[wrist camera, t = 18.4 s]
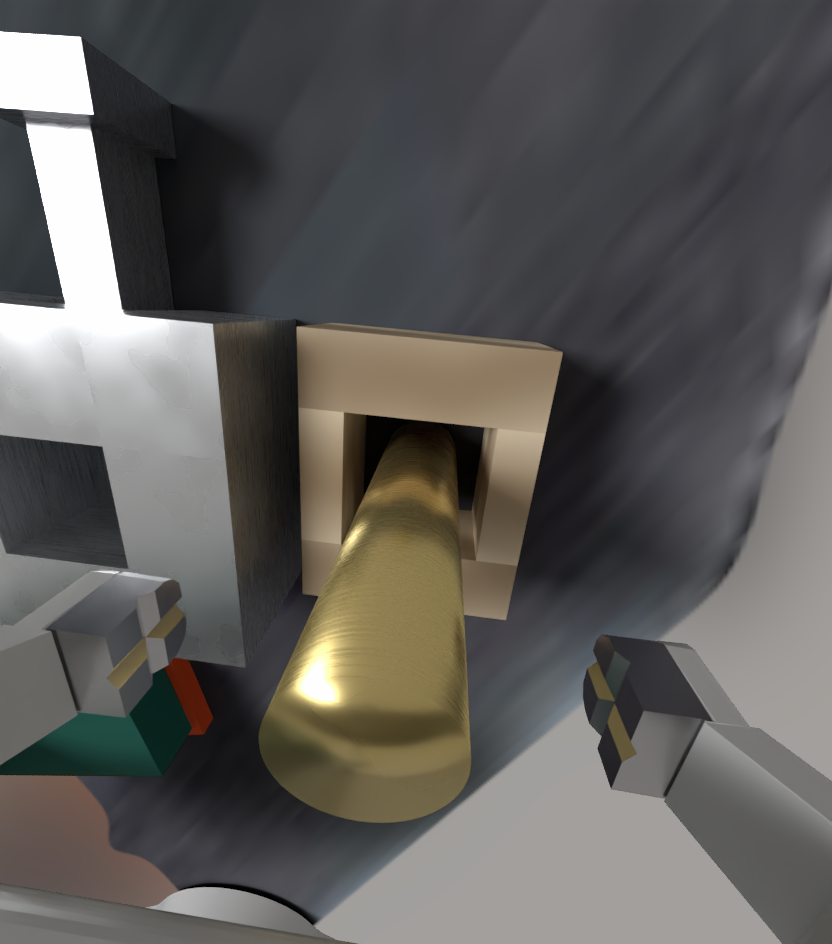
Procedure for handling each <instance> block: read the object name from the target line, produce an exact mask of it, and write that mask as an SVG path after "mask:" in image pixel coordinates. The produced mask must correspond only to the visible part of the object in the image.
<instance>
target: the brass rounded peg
mask: <svg viewBox="0 0 832 944" xmlns="http://www.w3.org/2000/svg"><path fill="white" fill-rule="evenodd" d="M259 748H260V752H261V755H262V758H263V761H264V763H265V765H266V767H267V768H268V770H269V771H270V773H271V774H272V776H273V777H274V778H275V779H276V780H277V781H278V783H279V784H280V785H281V786H282V787H284V788H285V789H286V790H287V791H288V792H289V793H291V794H292V795H293V796H295V797H296V798H298V799H299V800H301V801H303V802H304V803H306V804H308V805H310V806H312V807H314V808H316V809H318V810H320V811H323V812H326V813H328V814H331V815H334V816H338V817H341V818H345V819H350V820H355V821H362V822H370V823H392V822H401V821H408V820H413V819H417V818H420V817H423V816H426V815H429V814H431V813H433V812H436V811H438V810H440V809H441V808H443V807H444V806H446V805H447V804H449V803H450V802H451V801H452V800H453V799H455V798H456V797H457V796H458V794H459V793H460V792H461V791H462V790H463V788H464V786H465V784H466V783H467V780H468V777H469V774H470V769H471V748H470V727H469V707H468V686H467V666H466V645H465V625H464V604H463V583H462V563H461V542H460V522H459V501H458V481H457V460H456V447H455V443H454V440H453V438H452V436H451V435H450V433H449V432H448V431H447V430H446V429H445V428H444V427H443V426H441V425H440V424H438V423H436V422H430V421H421V420H412V421H409V422H406V423H404V424H403V425H401V426H400V427H399V428H397V429H396V430H395V432H394V433H393V434H392V436H391V438H390V440H389V442H388V444H387V447H386V449H385V451H384V453H383V455H382V458H381V460H380V462H379V464H378V466H377V469H376V471H375V473H374V475H373V478H372V480H371V482H370V484H369V486H368V489H367V491H366V493H365V495H364V497H363V500H362V502H361V504H360V506H359V508H358V511H357V513H356V515H355V517H354V519H353V522H352V524H351V526H350V528H349V530H348V533H347V535H346V537H345V539H344V541H343V544H342V546H341V548H340V550H339V553H338V555H337V557H336V559H335V561H334V564H333V566H332V568H331V570H330V572H329V575H328V577H327V579H326V581H325V583H324V586H323V588H322V590H321V592H320V594H319V597H318V599H317V601H316V603H315V605H314V608H313V610H312V612H311V614H310V617H309V619H308V621H307V623H306V625H305V628H304V630H303V632H302V634H301V636H300V639H299V641H298V643H297V645H296V647H295V650H294V652H293V654H292V656H291V658H290V661H289V663H288V665H287V667H286V669H285V672H284V674H283V676H282V678H281V680H280V683H279V685H278V687H277V689H276V692H275V694H274V696H273V698H272V700H271V703H270V705H269V707H268V709H267V711H266V714H265V716H264V718H263V720H262V722H261V726H260V730H259Z"/></svg>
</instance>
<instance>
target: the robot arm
mask: <svg viewBox="0 0 832 944" xmlns="http://www.w3.org/2000/svg"><path fill="white" fill-rule="evenodd" d="M181 598H182V593H181V589H180V584H179V582H177V581H175V580H173V579H169V578H163V577H156V576H150V575H143V574H137V573H130V572H120V571H114V570H108V569H97V570H92V571H90V572H88V573H87V574H86V575H84V576H83V577H81V578H80V579H78V580H77V581H76V582H74V583H73V584H71V585H70V586H69V587H67V588H66V589H64V590H63V591H61V592H60V593H59V594H57V595H56V596H54V597H53V598H52V599H50V600H49V601H47V602H46V603H44V604H43V605H42V606H40V607H39V608H37V609H36V610H35V611H33V612H32V613H30V614H29V615H28V616H26V617H25V618H23V619H22V620H20V621H19V622H18V623H16V624H15V625H13V626H11V625H2V626H0V765H1V764H3V763H4V762H6V761H7V760H9V759H10V758H12V757H13V756H15V755H17V754H18V753H20V752H21V751H23V750H24V749H26V748H27V747H29V746H31V745H32V744H34V743H35V742H37V741H38V740H40V739H41V738H43V737H45V736H46V735H48V734H49V733H51V732H52V731H54V730H55V729H57V728H59V727H60V726H62V725H63V724H65V723H66V722H68V721H69V720H71V719H73V718H74V717H76V716H77V715H78V713H77V712H80V713H89V714H98V715H107V716H115V717H124V718H126V717H127V716H128V714H129V713H130V712H131V711H132V710H133V708H134V707H135V706H136V705H137V703H138V702H139V701H140V700H141V698H142V697H143V696H144V695H145V694H146V692H147V691H148V690H149V689H150V687H151V686H152V685H153V673H155V672H157V671H158V670H160V669H162V668H164V667H166V666H167V665H169V664H170V663H171V661H172V660H173V659H174V657H175V656H176V655H177V653H178V652H179V650H180V647H181V645H182V643H183V640H184V638H185V633H186V618H185V614H184V613H183V612H182V611H181V610H180V608H179V607H178V606H177V605H176V604H177V603H178V601H179V600H180V599H181ZM593 651H594V654H595V656H596V659H597V662H596V663H594V664H593V665H592V666H590V667H589V668H587V671H586V675H585V679H584V682H583V700H584V706H585V711H586V714H587V717H588V721H589V724H590V725H591V726H592V727H593V728H594V729H595V730H596V731H597V732H598V733H599V734H600V735H601V736H602V737H601V740H600V743H599V746H598V751H599V754H600V757H601V760H602V763H603V766H604V769H605V772H606V775H607V778H608V781H609V784H610V787H611V789H613V790H619V791H625V792H630V793H636V794H642V795H648V796H653V797H659V798H664V799H665V801H664V802H665V803H666V804H667V805H668V807H669V808H670V809H671V810H672V811H673V813H674V814H675V815H676V816H677V817H678V819H679V820H680V821H681V822H682V823H683V825H684V826H685V827H686V828H687V829H688V831H689V832H690V833H691V834H692V835H693V837H694V838H695V839H696V840H697V841H698V843H699V844H700V845H701V846H702V848H703V849H704V850H705V851H706V852H707V854H708V855H709V856H710V857H711V858H712V860H713V861H714V862H715V863H716V864H717V866H718V867H719V868H720V869H721V870H722V872H723V873H724V874H725V875H726V876H727V878H728V879H729V880H730V881H731V882H732V883H733V885H734V886H735V887H736V888H737V890H738V891H739V892H740V893H741V894H742V896H743V897H744V898H745V899H746V900H747V902H748V903H749V904H750V905H751V906H752V908H753V909H754V910H755V911H756V912H757V913H758V915H759V916H760V917H761V918H762V920H763V921H764V922H765V923H766V924H767V926H768V927H769V928H770V929H771V930H772V932H773V933H774V934H775V935H776V937H777V938H778V939H779V940H780V941H781V943H782V944H832V781H831V780H829V779H828V778H827V777H825V776H824V775H822V774H821V773H820V772H818V771H817V770H815V769H814V768H813V767H812V766H810V765H809V764H807V763H806V762H805V761H803V760H802V759H801V758H799V757H798V756H796V755H795V754H794V753H792V752H791V751H790V750H788V749H787V748H785V747H784V746H783V745H781V744H780V743H779V742H777V741H776V740H775V739H773V738H772V737H770V736H769V735H768V734H766V733H765V732H764V731H762V730H761V729H759V728H752V727H749V725H748V724H747V723H746V721H745V720H744V718H743V717H742V716H741V714H740V713H739V712H738V711H737V709H736V707H735V706H734V704H733V703H732V702H731V701H730V699H729V698H728V696H727V695H726V693H725V692H724V691H723V689H722V688H721V686H720V685H719V684H718V682H717V681H716V680H715V678H714V677H713V675H712V674H711V672H710V671H709V670H708V668H707V667H706V666H705V664H704V663H703V661H702V660H701V658H700V657H699V656H698V654H697V653H696V651H695V650H694V649H693V648H691V647H690V646H688V645H687V644H682V643H673V642H664V641H650V640H642V639H634V638H626V637H618V636H610V635H601V636H600V637H599V638H598V639H597V641H596V644H595V647H594V650H593ZM0 944H356V943H350V942H344V941H338V940H335V939H333V938H331V937H329V936H327V935H325V934H322V933H321V932H320V931H319V930H317V929H316V928H315V927H314V926H313V925H312V924H311V923H309V922H308V921H307V920H306V919H305V918H303V917H302V916H301V915H299V914H298V913H296V912H295V911H293V910H291V909H289V908H288V907H286V906H284V905H282V904H280V903H277V902H275V901H273V900H270V899H267V898H265V897H262V896H259V895H255V894H252V893H248V892H244V891H239V890H234V889H227V888H217V887H199V888H190V889H185V890H181V891H178V892H176V893H173V894H171V895H170V896H168V897H167V898H166V899H164V900H163V901H162V902H161V903H159V904H158V905H155V906H150V907H139V906H133V905H127V904H121V903H115V902H109V901H104V900H97V899H92V898H86V897H80V896H74V895H68V894H62V893H57V892H51V891H44V890H38V889H33V888H27V887H21V886H15V885H9V884H4V883H0Z"/></svg>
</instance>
